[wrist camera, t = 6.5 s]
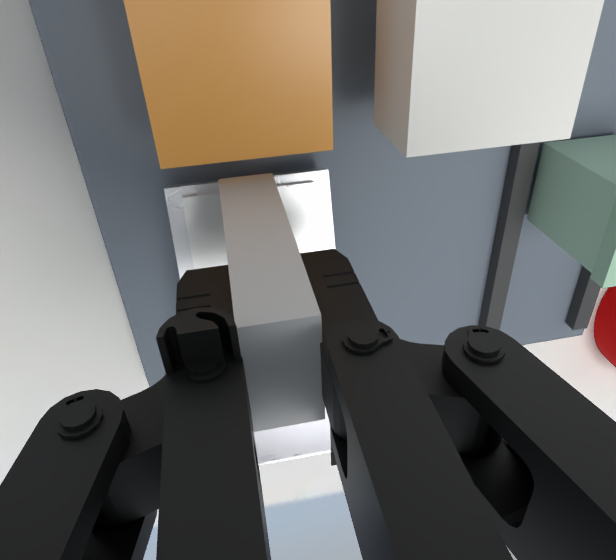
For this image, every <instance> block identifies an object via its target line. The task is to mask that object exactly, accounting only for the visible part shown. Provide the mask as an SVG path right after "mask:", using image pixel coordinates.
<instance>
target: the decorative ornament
mask: <svg viewBox="0 0 616 560" xmlns="http://www.w3.org/2000/svg"><path fill="white" fill-rule="evenodd" d="M594 337H595V341H596V344H597V347H598V349H599V350H600V352H601V353H602V354H603V355H604V356H605V357H606V358H607V359H608V360H609V361H610V362H611V363H612V364H613V365H614V366H615V367H616V286H614V287H609V288H608V290H607V291H606V293H605V295H604V297H603V298H602V300H601V302H600V305H599V307H598V310H597V313H596V317H595V322H594Z"/></svg>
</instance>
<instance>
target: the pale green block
mask: <svg viewBox="0 0 616 560" xmlns="http://www.w3.org/2000/svg"><path fill="white" fill-rule="evenodd" d="M527 219H528V220H529V221H530V222H531V223H532V224H534V225H535V226H536V227H537V228H538V229H539V230H541V231H542V232H543V233H544V234H545V235H547V236H548V237H549V238H550V239H551V240H553V241H554V242H555V243H556V244H557V245H559V246H560V247H561V248H562V249H563V250H565V251H566V252H567V253H568V254H569V255H571V256H572V257H573V258H574V259H575V260H577V261H578V262H579V263H580V264H581V265H583V266H584V267H585V268H586V269H587V270H588V271H590V272H591V276H590V278H591V279H592V280H593V281H594V282H595V283H597V284H598V285H599V286H600V287H601V288H607V287H614V286H616V135H607V136H598V137H590V138H581V139H573V140H564V141H555V142H547V143H543V148H542V152H541V157H540V161H539V166H538V171H537V175H536V180H535V184H534V189H533V193H532V198H531V203H530V207H529V212H528V216H527Z"/></svg>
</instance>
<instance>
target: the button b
mask: <svg viewBox="0 0 616 560" xmlns="http://www.w3.org/2000/svg"><path fill="white" fill-rule="evenodd" d="M603 4H604V0H377V11H376V49H375V87H374V125H375V126H376V127H377V128H378V129H379V130H380V131H381V132H382V133H383V134H384V135H385V136H386V137H387V138H388V139H389V140H390V141H391V142H392V143H393V144H394V145H395V146H396V147H397V148H398V149H399V150H400V152H401V153H402V154H403V155H404V156H405V157H406V158H407V157H416V156H425V155H433V154H442V153H450V152H459V151H468V150H476V149H485V148H494V147H502V146H511V145H519V144H528V143H537V142H545V141H554V140H563V139H570V137H571V133H572V129H573V125H574V121H575V117H576V113H577V109H578V105H579V101H580V97H581V93H582V89H583V85H584V81H585V77H586V72H587V68H588V64H589V60H590V56H591V52H592V48H593V44H594V40H595V36H596V32H597V28H598V24H599V20H600V16H601V12H602V8H603Z"/></svg>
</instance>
